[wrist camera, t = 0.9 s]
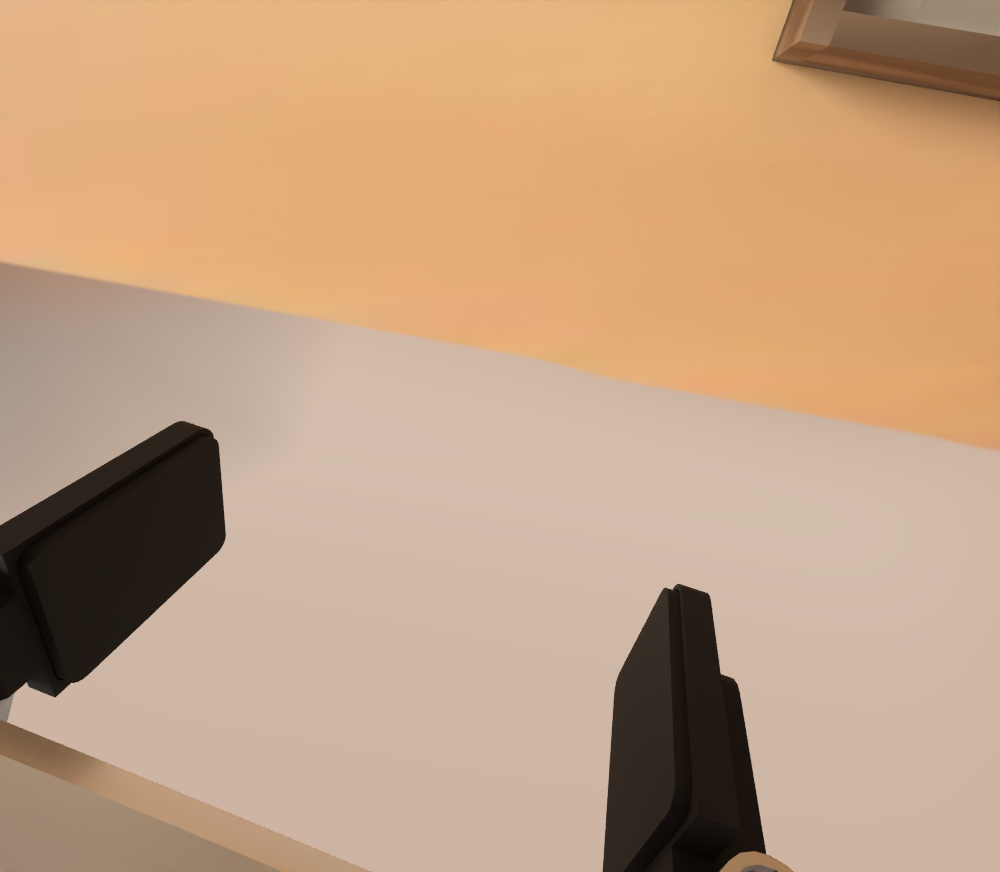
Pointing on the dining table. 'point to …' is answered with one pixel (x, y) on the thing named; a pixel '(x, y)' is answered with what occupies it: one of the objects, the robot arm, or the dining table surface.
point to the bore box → (899, 41)
